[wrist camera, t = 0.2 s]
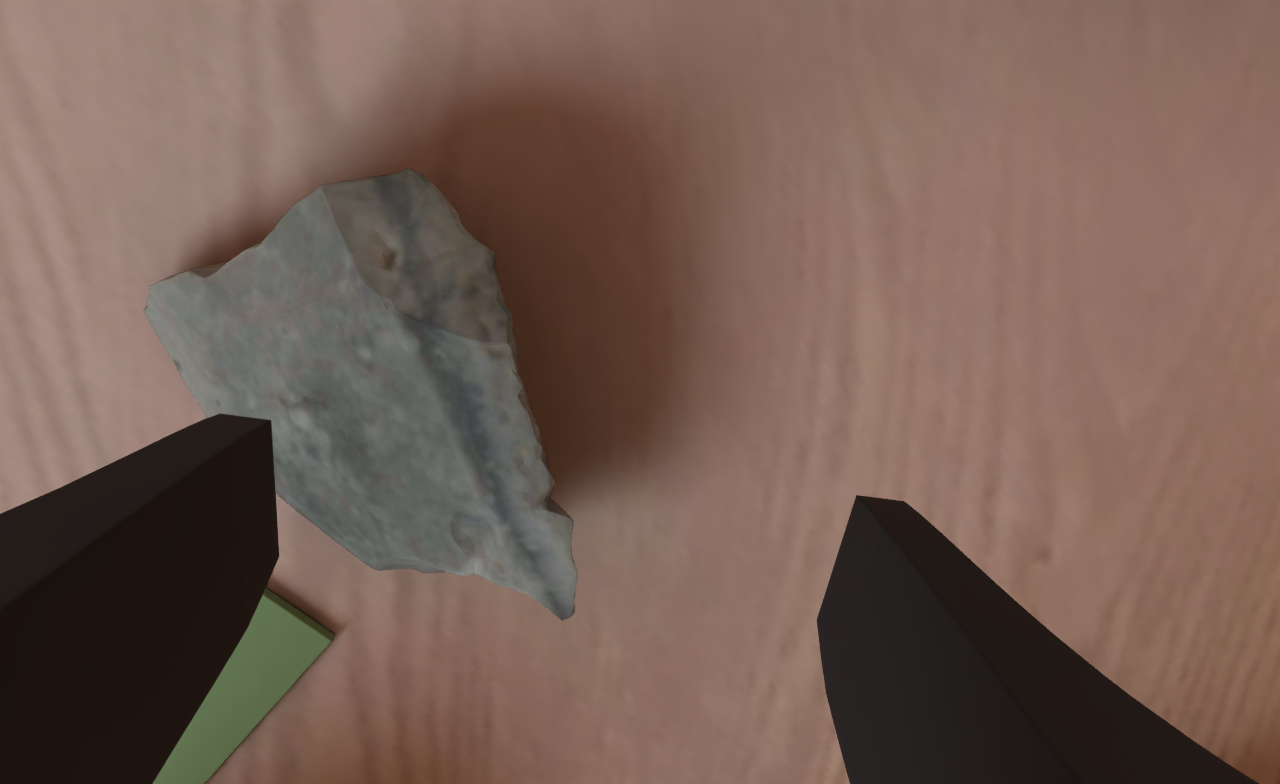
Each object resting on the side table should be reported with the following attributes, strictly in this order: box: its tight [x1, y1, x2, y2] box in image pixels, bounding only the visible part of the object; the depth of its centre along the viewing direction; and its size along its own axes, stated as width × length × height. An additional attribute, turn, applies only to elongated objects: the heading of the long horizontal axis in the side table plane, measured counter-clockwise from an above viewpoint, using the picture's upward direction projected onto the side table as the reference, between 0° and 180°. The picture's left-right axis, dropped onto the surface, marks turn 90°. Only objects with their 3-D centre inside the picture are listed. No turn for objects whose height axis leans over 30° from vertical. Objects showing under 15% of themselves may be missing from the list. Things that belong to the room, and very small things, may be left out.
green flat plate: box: [153, 588, 335, 784], centre depth 23 cm, size 8×7×1 cm
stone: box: [144, 169, 577, 620], centre depth 19 cm, size 11×4×10 cm
